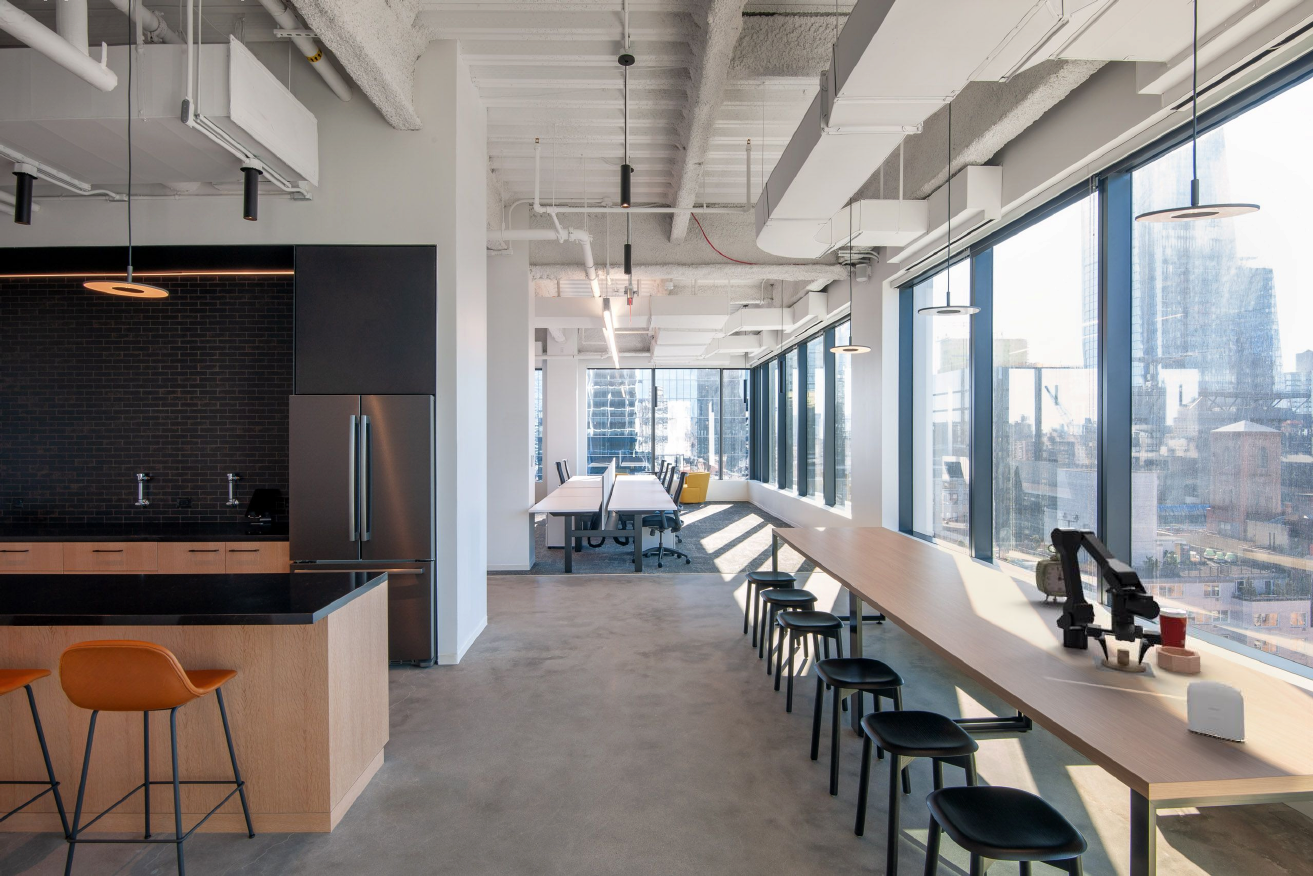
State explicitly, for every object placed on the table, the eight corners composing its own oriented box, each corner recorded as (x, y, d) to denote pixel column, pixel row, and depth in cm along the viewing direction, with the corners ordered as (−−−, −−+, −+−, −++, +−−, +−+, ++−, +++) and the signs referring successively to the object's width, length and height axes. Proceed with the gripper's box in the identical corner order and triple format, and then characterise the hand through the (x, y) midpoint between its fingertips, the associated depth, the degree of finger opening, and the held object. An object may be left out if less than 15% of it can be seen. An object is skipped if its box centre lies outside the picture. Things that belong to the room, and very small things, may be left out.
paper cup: (1194, 658, 208) (1193, 613, 208) (1166, 657, 210) (1165, 612, 210) (1179, 650, 216) (1179, 607, 216) (1153, 649, 217) (1152, 606, 217)
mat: (1097, 671, 198) (1097, 669, 198) (1094, 657, 210) (1094, 655, 210) (1155, 679, 191) (1155, 677, 191) (1148, 664, 203) (1148, 662, 203)
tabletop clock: (1042, 605, 275) (1042, 544, 275) (1034, 599, 284) (1033, 541, 284) (1080, 606, 273) (1080, 545, 273) (1070, 600, 282) (1070, 541, 282)
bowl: (1159, 671, 198) (1159, 654, 198) (1154, 661, 206) (1154, 644, 206) (1202, 676, 192) (1202, 659, 192) (1195, 666, 201) (1195, 649, 201)
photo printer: (1186, 732, 157) (1185, 679, 157) (1188, 726, 160) (1187, 675, 160) (1244, 745, 150) (1243, 690, 150) (1245, 739, 153) (1244, 685, 153)
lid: (1102, 668, 198) (1102, 652, 198) (1100, 657, 208) (1099, 642, 208) (1148, 675, 193) (1148, 658, 193) (1143, 663, 202) (1143, 647, 202)
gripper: (1087, 613, 198) (1087, 665, 198) (1165, 621, 189) (1166, 676, 189) (1085, 604, 208) (1085, 654, 208) (1159, 612, 198) (1160, 664, 198)
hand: (1123, 662), depth 200 cm, fingers open, 8 cm apart
